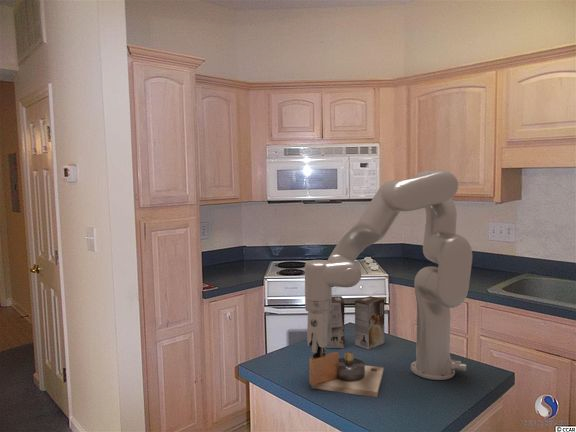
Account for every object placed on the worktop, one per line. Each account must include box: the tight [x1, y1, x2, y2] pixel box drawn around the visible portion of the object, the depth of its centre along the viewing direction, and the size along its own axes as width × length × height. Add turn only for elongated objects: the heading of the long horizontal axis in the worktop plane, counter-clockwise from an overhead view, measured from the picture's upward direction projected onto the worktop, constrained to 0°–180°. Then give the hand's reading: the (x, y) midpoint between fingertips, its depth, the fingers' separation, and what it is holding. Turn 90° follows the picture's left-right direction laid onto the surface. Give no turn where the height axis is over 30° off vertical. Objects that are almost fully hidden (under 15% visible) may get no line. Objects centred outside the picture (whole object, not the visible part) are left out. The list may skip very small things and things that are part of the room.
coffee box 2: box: [354, 295, 385, 350], centre depth 154 cm, size 9×6×16 cm
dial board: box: [311, 364, 384, 398], centre depth 127 cm, size 18×16×2 cm
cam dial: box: [308, 351, 366, 386], centre depth 124 cm, size 18×9×7 cm, turn 119°
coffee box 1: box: [325, 295, 346, 349], centre depth 155 cm, size 9×6×16 cm
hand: (319, 367), depth 125 cm, fingers closed
